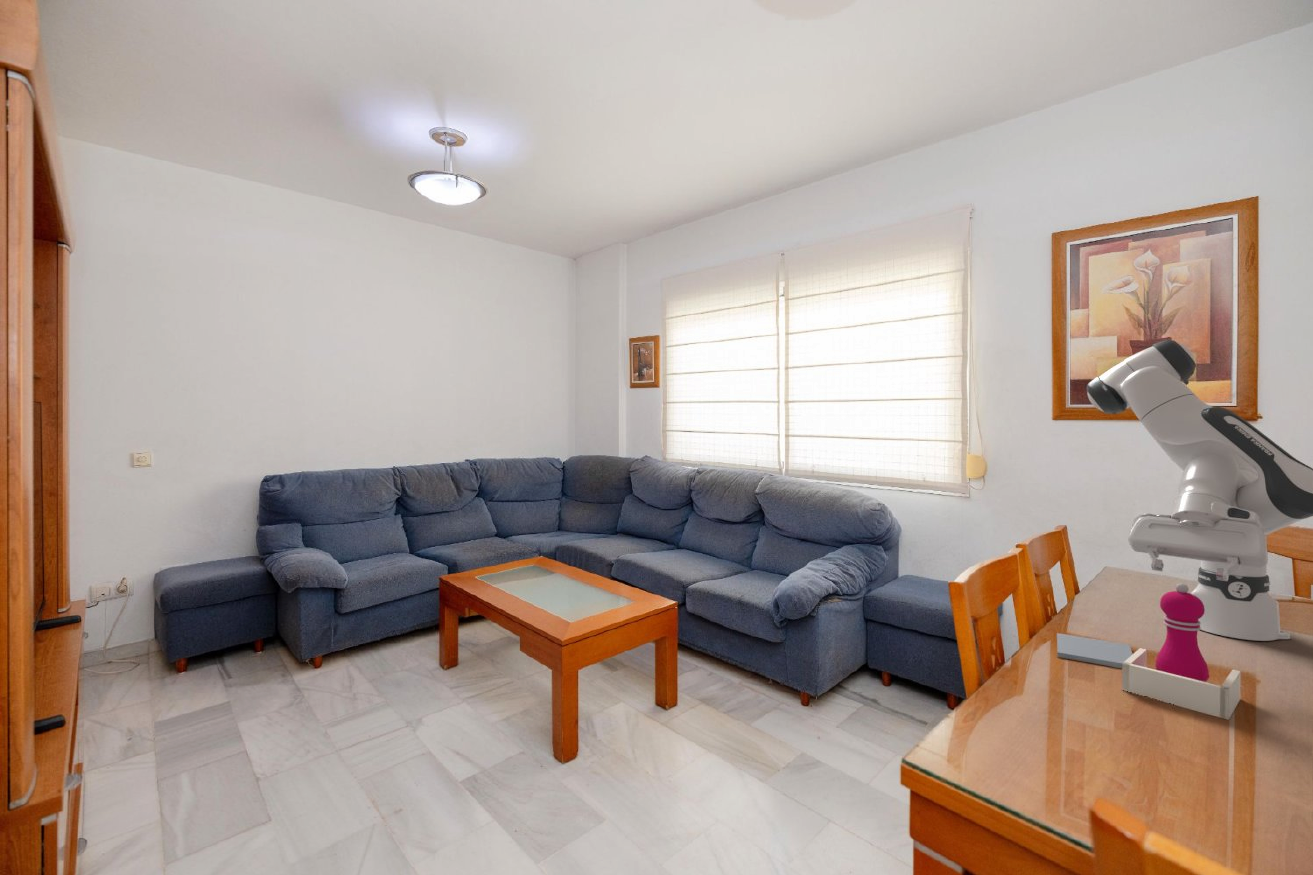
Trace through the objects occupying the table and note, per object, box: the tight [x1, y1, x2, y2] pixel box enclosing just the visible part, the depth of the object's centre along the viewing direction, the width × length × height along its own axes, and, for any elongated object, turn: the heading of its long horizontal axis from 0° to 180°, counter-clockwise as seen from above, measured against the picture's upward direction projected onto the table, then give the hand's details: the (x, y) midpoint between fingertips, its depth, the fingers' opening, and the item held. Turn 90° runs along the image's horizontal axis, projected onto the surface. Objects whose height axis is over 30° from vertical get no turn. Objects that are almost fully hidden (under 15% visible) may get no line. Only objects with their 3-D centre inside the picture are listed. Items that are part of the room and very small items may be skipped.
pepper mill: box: [1155, 582, 1210, 682], centre depth 105 cm, size 7×7×20 cm
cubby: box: [1121, 647, 1242, 721], centre depth 105 cm, size 12×14×5 cm
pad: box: [1056, 633, 1134, 669], centre depth 124 cm, size 14×13×1 cm
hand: (1187, 573), depth 112 cm, fingers open, 8 cm apart
